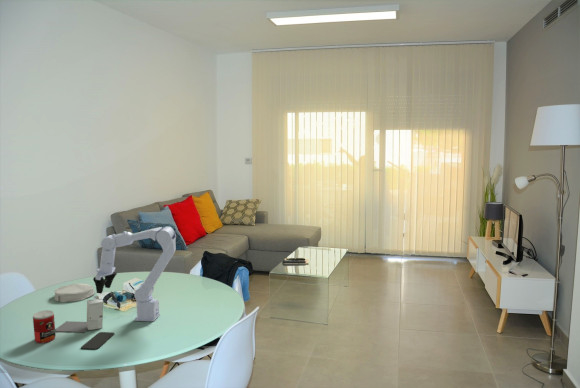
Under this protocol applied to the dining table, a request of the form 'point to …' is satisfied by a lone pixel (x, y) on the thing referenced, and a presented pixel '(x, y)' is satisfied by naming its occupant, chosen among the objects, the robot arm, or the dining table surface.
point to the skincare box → (94, 314)
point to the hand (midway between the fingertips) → (103, 290)
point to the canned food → (44, 326)
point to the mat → (72, 327)
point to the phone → (97, 341)
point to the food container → (73, 292)
